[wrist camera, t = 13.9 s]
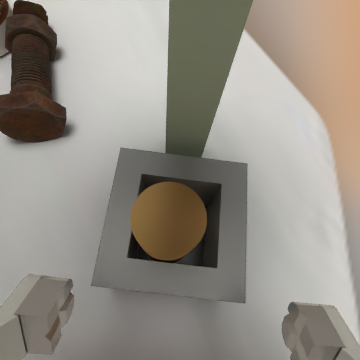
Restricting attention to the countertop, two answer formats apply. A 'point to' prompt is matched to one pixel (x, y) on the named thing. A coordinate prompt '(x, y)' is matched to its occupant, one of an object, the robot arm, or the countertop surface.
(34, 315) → the robot arm
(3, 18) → the milk bottle
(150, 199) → the peg
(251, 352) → the countertop surface
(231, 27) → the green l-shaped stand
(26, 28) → the bolt
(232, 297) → the socket
